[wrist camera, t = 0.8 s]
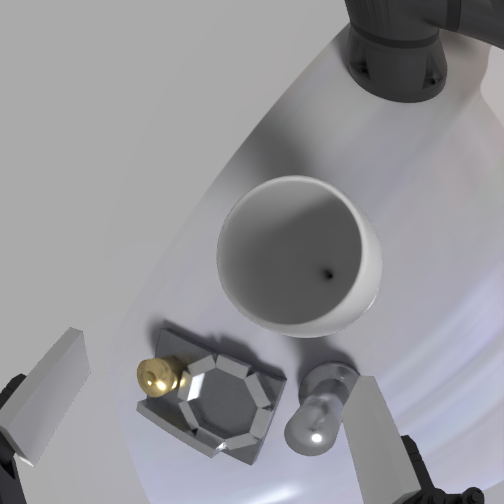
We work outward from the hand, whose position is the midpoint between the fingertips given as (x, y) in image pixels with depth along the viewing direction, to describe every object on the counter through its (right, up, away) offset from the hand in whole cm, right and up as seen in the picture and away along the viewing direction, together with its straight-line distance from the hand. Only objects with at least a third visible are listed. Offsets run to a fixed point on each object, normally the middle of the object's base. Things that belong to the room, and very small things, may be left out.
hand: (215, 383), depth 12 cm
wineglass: (+11, +3, +19) cm, 22 cm away
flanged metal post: (+11, -10, +17) cm, 22 cm away
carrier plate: (-4, -13, +23) cm, 26 cm away
